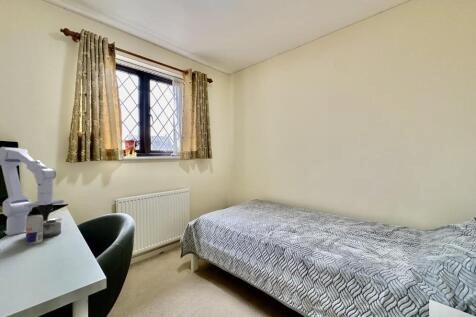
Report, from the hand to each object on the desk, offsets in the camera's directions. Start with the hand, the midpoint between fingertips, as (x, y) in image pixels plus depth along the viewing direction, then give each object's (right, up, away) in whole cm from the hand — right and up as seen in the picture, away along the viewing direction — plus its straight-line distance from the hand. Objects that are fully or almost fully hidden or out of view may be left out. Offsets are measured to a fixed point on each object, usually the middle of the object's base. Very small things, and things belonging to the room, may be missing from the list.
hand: (45, 220), depth 107 cm
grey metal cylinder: (-1, -7, 0) cm, 7 cm away
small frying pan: (+1, -1, -1) cm, 2 cm away
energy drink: (+4, -8, -10) cm, 14 cm away
